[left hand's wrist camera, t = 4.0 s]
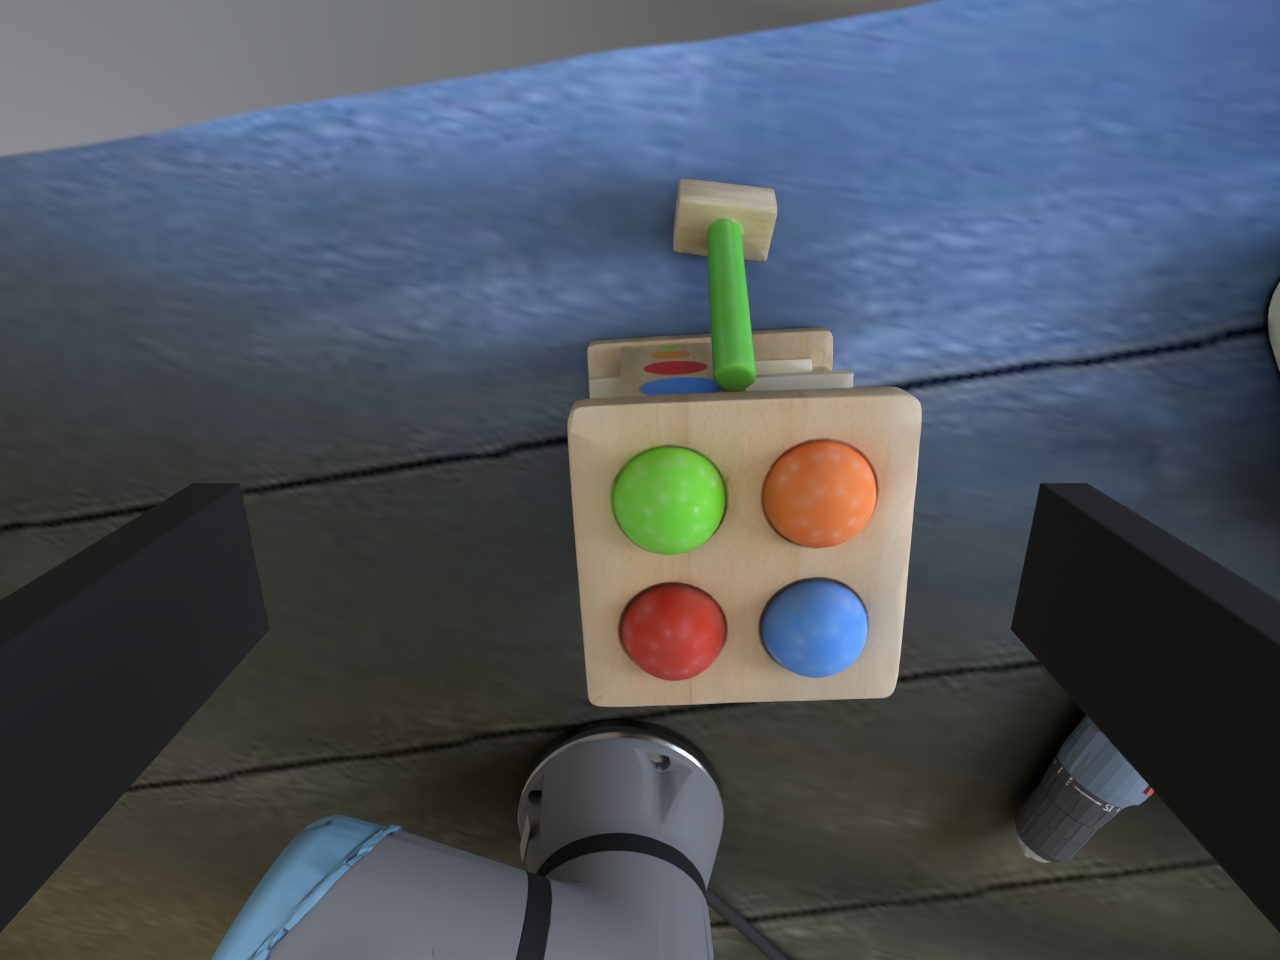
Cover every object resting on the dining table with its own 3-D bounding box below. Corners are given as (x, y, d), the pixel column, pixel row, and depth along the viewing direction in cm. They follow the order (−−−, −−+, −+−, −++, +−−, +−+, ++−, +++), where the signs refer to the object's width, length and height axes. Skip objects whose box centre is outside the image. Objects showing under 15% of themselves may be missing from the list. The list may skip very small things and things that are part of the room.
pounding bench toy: (577, 184, 40) (533, 165, 24) (835, 172, 40) (975, 144, 23) (603, 557, 48) (583, 741, 32) (818, 548, 48) (914, 728, 31)
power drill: (1189, 893, 59) (979, 813, 56) (1355, 720, 53) (1130, 621, 50) (1240, 957, 54) (1012, 873, 51) (1431, 773, 48) (1185, 666, 45)
